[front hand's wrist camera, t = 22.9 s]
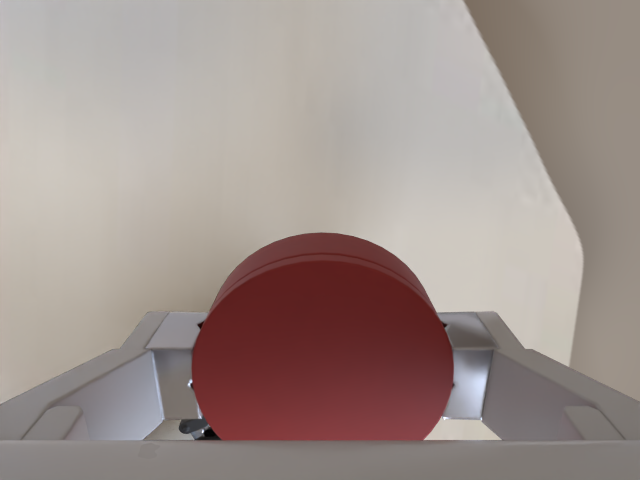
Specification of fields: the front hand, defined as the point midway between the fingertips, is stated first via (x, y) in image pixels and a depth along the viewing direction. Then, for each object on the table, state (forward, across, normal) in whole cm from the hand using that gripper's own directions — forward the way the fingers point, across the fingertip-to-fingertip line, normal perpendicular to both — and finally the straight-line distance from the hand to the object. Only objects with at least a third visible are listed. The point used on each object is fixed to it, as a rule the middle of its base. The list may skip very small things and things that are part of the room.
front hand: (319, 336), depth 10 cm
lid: (-2, 0, 0) cm, 2 cm away
